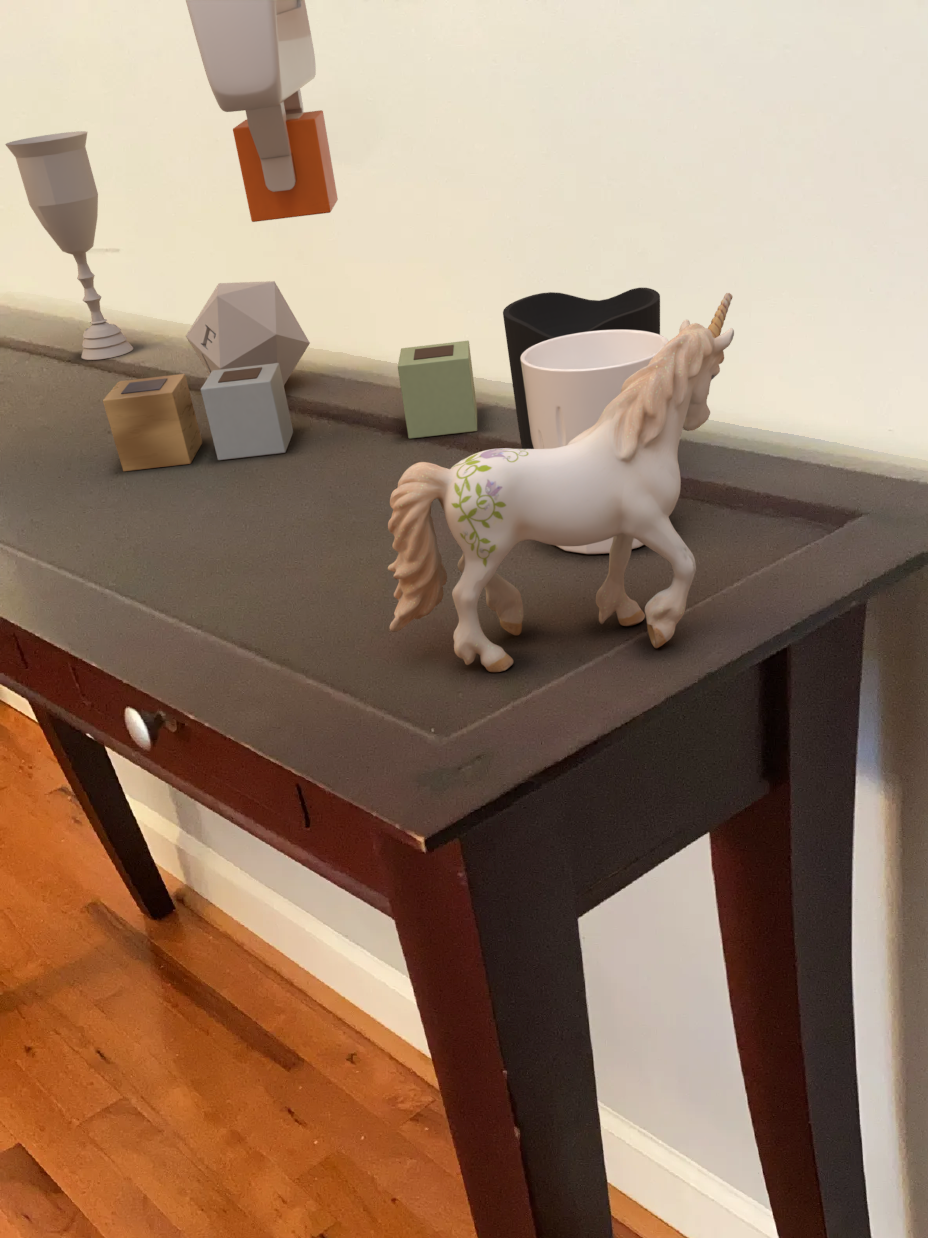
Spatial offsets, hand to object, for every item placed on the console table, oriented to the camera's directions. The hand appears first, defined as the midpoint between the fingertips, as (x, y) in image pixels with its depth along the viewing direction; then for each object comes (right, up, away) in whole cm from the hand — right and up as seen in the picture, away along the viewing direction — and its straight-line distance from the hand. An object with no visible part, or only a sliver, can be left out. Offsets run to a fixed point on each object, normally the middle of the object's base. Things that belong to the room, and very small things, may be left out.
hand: (289, 181), depth 80 cm
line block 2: (-5, -11, +14) cm, 19 cm away
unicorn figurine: (+18, -31, -15) cm, 39 cm away
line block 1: (-12, -12, +14) cm, 22 cm away
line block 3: (+9, -10, +14) cm, 19 cm away
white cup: (+20, -24, -7) cm, 32 cm away
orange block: (0, -1, +1) cm, 2 cm away
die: (-7, -2, +27) cm, 28 cm away
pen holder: (+19, -18, +2) cm, 26 cm away
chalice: (-26, +9, +44) cm, 52 cm away
